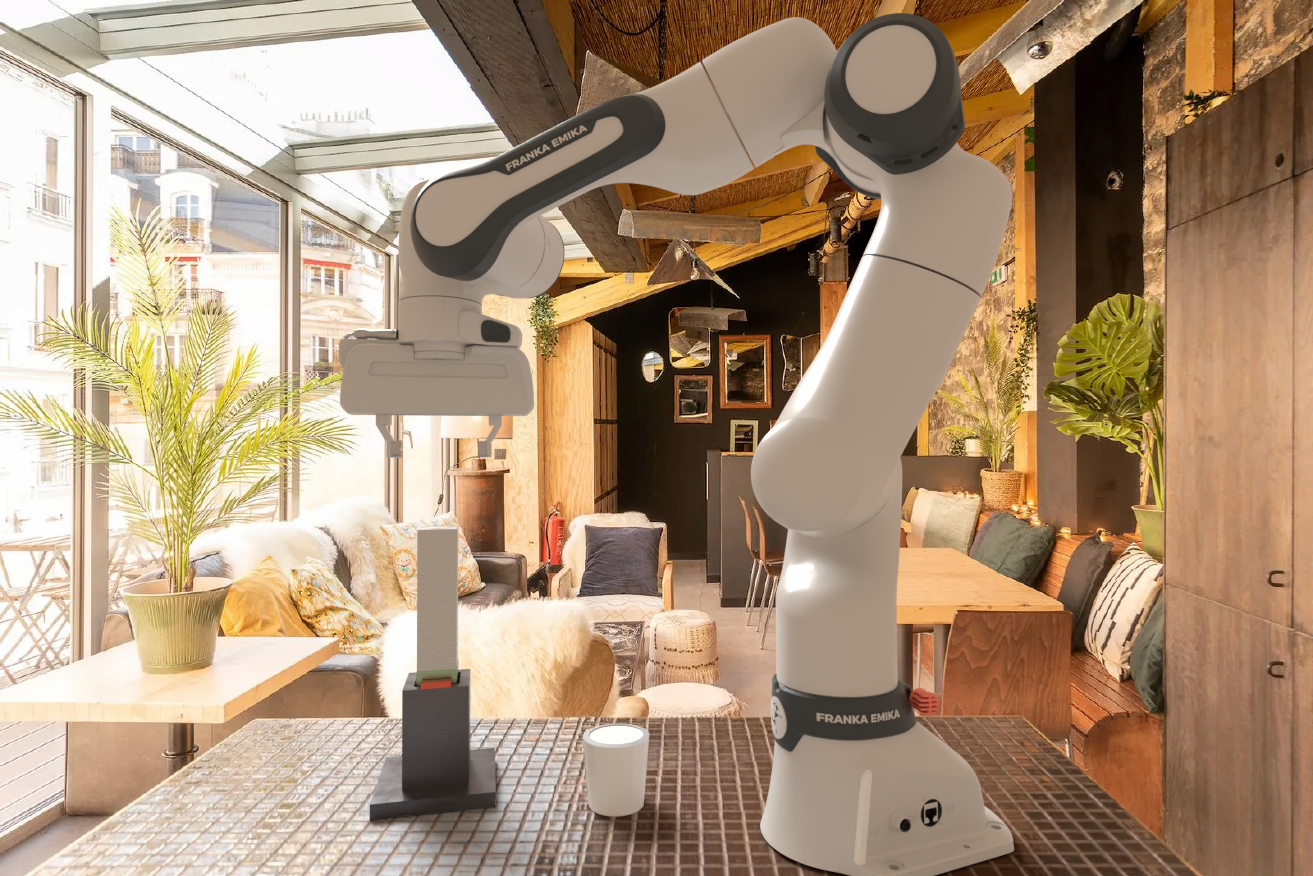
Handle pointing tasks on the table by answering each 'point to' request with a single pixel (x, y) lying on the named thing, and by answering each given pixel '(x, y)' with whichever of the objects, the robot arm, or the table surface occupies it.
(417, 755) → the sleeve stand
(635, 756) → the white tapered cup
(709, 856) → the table surface
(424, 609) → the steel post
